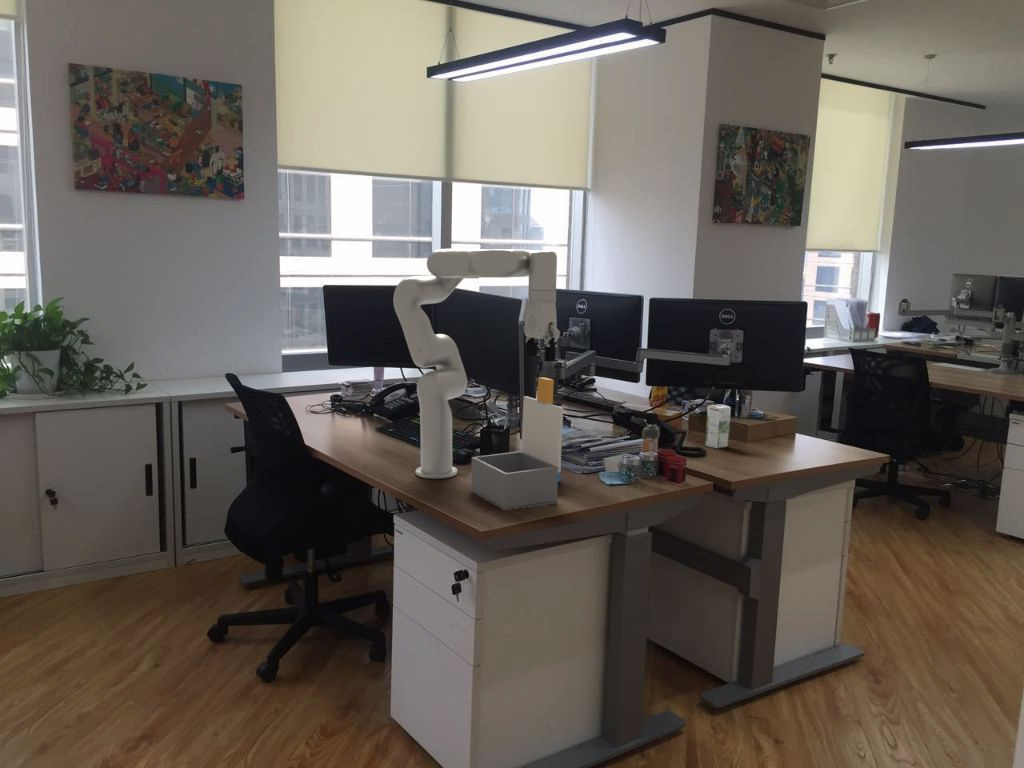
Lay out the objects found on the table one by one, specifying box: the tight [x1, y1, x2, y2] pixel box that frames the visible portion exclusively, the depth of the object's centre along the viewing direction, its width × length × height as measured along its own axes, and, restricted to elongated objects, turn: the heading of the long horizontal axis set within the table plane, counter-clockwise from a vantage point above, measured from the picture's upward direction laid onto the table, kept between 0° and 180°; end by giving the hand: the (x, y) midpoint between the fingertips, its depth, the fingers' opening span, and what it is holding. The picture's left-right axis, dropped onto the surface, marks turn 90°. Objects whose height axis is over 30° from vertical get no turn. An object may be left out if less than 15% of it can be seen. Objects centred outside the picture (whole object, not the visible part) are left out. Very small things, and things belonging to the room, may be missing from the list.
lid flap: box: [520, 376, 564, 467], centre depth 237 cm, size 20×22×2 cm
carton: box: [470, 450, 559, 512], centre depth 235 cm, size 20×16×10 cm
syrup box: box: [704, 403, 732, 449], centre depth 297 cm, size 6×6×14 cm
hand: (540, 358), depth 235 cm, fingers open, 9 cm apart
